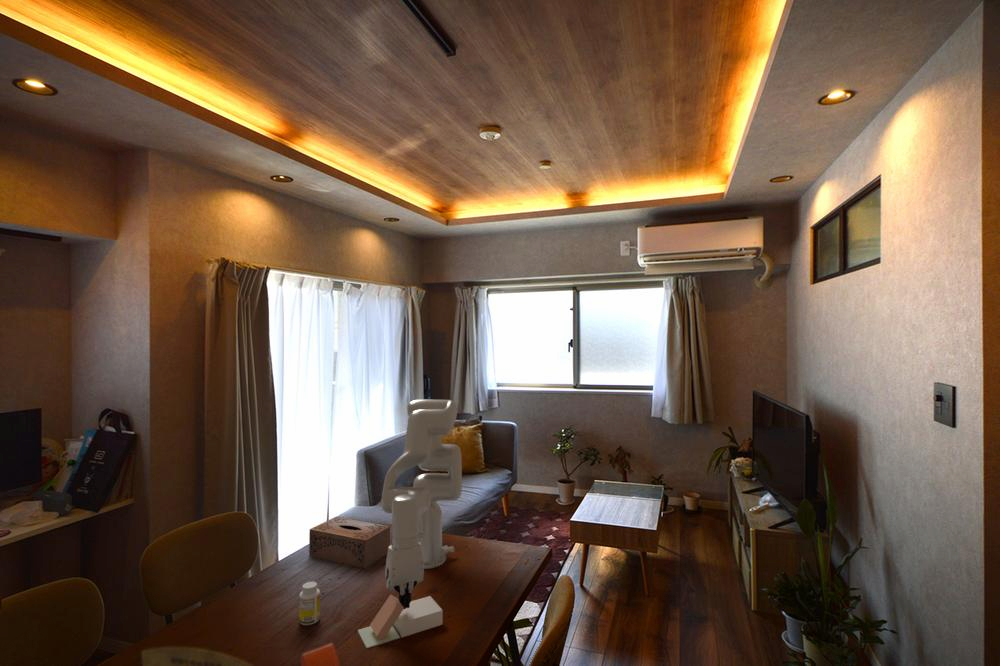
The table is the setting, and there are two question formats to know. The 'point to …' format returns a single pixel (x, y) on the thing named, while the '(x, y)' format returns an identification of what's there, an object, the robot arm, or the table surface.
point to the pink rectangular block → (386, 617)
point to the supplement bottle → (309, 604)
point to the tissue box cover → (349, 541)
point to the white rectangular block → (419, 617)
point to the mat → (372, 640)
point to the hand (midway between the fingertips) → (404, 606)
